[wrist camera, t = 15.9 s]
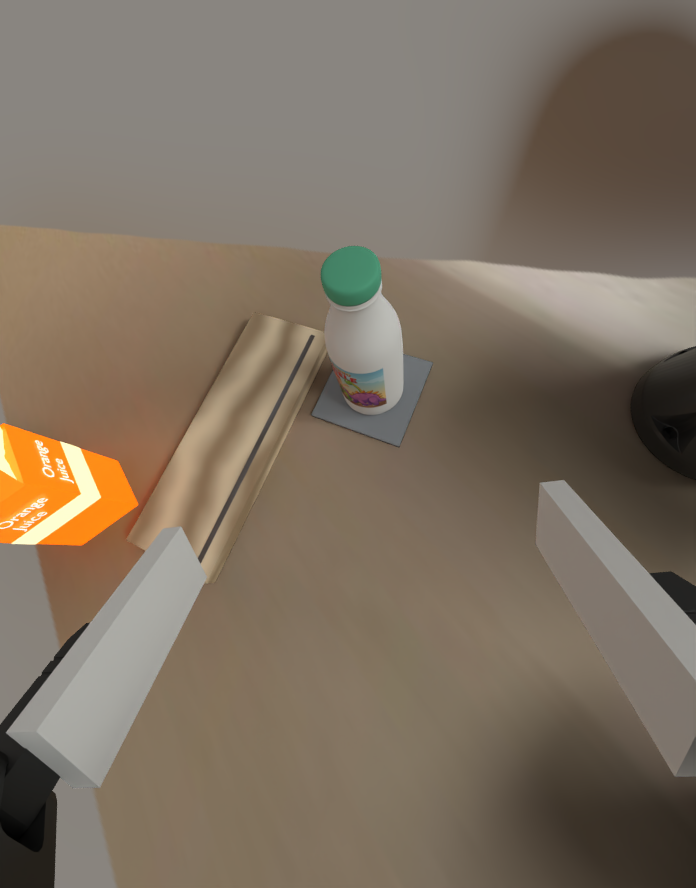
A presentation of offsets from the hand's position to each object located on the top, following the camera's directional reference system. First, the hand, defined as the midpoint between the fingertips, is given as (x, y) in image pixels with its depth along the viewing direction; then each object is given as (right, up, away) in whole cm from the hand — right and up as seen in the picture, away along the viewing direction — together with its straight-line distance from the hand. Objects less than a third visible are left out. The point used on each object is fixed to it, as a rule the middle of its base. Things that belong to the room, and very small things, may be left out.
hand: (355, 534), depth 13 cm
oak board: (-15, +4, +33) cm, 36 cm away
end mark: (+3, +10, +32) cm, 34 cm away
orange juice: (-33, -4, +34) cm, 47 cm away
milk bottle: (+3, +10, +32) cm, 34 cm away
